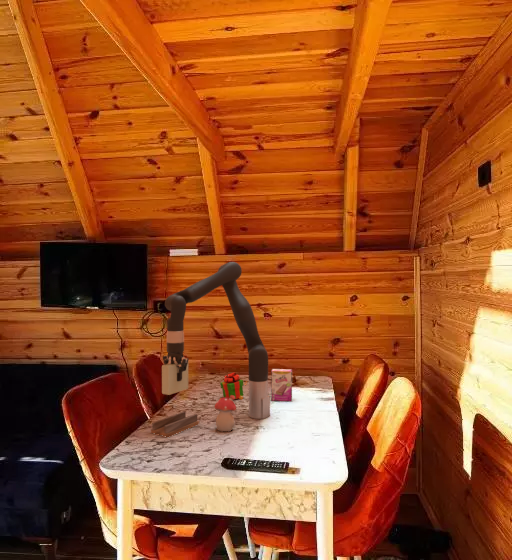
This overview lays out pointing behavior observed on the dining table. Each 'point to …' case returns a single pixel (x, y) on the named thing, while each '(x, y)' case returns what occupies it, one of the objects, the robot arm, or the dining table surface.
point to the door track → (174, 424)
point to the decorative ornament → (225, 413)
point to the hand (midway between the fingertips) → (175, 380)
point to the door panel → (173, 379)
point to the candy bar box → (281, 385)
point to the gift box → (232, 386)
